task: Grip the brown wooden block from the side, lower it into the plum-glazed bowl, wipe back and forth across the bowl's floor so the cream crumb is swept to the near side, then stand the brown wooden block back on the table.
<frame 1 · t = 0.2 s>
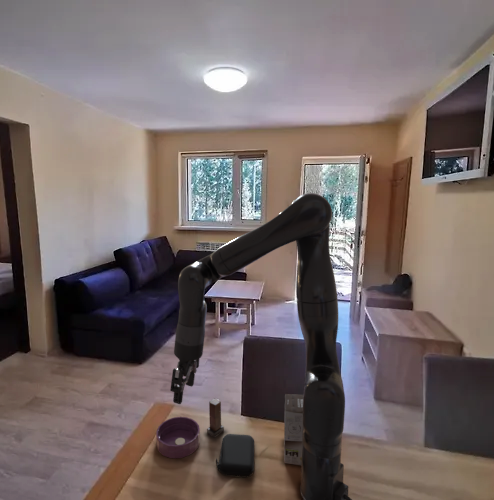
hand: (183, 393, 90), 22 cm above the table, tool pointing down, fingers open, 8 cm apart
brown wooden block: (215, 433, 107), on the table
carrying case: (235, 459, 97), on the table
bowl: (178, 443, 103), on the table
coffee box: (295, 453, 98), on the table
crumb: (180, 443, 102), point 1 cm above the table, touching bowl
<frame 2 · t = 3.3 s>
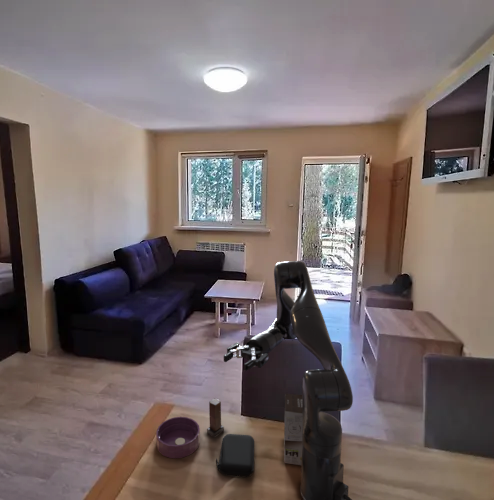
hand: (234, 363, 111), 20 cm above the table, tool horizontal, fingers open, 8 cm apart
nothing on the table moved.
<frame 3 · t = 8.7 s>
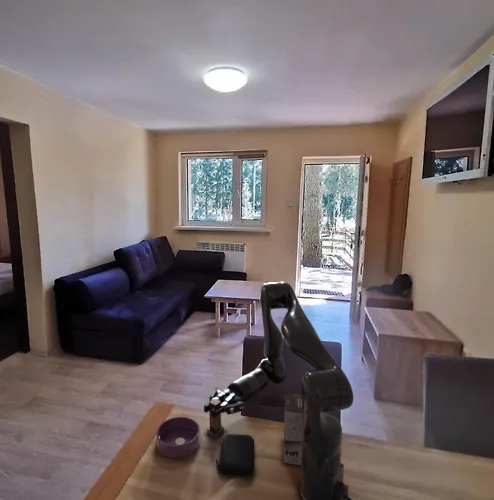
hand: (208, 411, 104), 9 cm above the table, tool horizontal, fingers closed on brown wooden block, 2 cm apart
brown wooden block: (215, 433, 107), on the table, touching gripper
everything else where it was.
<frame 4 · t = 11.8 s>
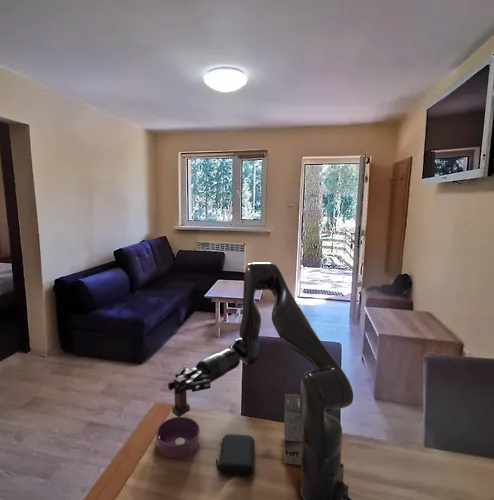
hand: (172, 388, 100), 18 cm above the table, tool horizontal, fingers closed on brown wooden block, 2 cm apart
brown wooden block: (181, 411, 104), point 9 cm above the table, touching gripper
everything else where it was.
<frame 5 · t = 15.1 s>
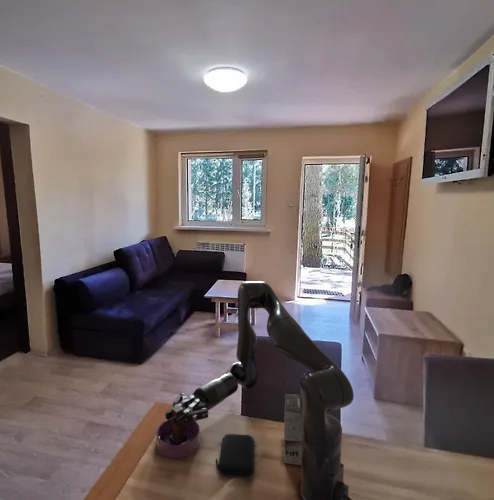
hand: (169, 419, 99), 10 cm above the table, tool horizontal, fingers closed on brown wooden block, 2 cm apart
brown wooden block: (178, 441, 103), point 1 cm above the table, touching gripper
crumb: (185, 447, 100), point 1 cm above the table, touching bowl
everything else where it was.
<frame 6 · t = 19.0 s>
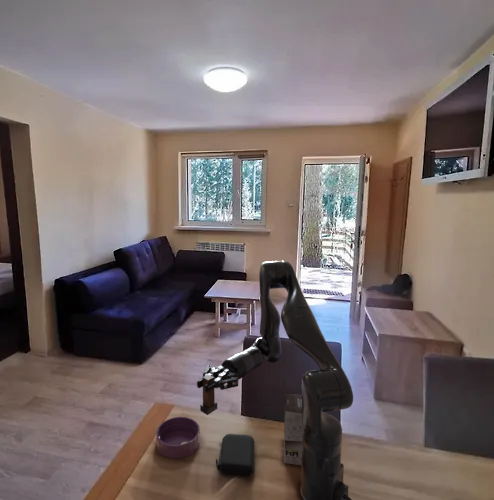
hand: (201, 387, 101), 18 cm above the table, tool horizontal, fingers closed on brown wooden block, 2 cm apart
brown wooden block: (208, 409, 105), point 9 cm above the table, touching gripper
everything else where it was.
when the fingers open (9 cm above the table, at t = 21.8 s): brown wooden block stays where it is, on the table.
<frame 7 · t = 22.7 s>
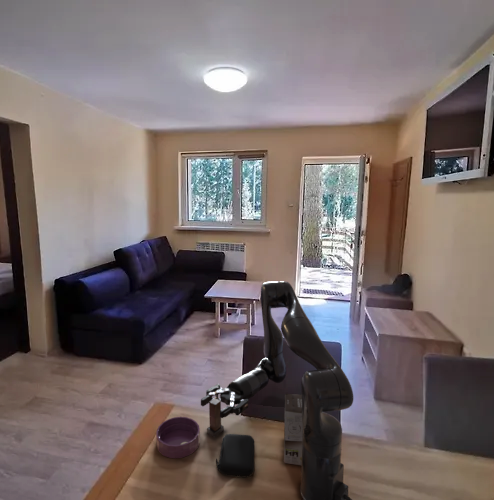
hand: (210, 409, 104), 9 cm above the table, tool horizontal, fingers open, 8 cm apart
brown wooden block: (215, 432, 107), on the table
everything else where it was.
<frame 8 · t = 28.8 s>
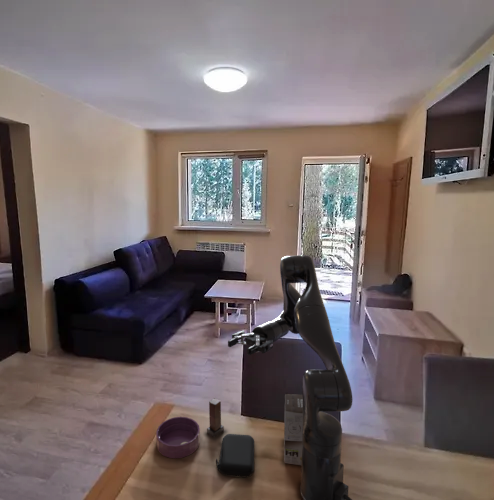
hand: (238, 348, 111), 25 cm above the table, tool horizontal, fingers open, 8 cm apart
nothing on the table moved.
at the end: crumb 0.8 cm from the target spot in the bowl, point 0.6 cm above the bowl's base; brown wooden block tilted 0°; the gripper is holding nothing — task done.
